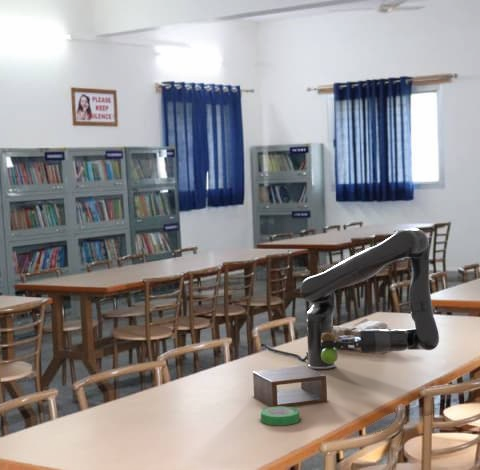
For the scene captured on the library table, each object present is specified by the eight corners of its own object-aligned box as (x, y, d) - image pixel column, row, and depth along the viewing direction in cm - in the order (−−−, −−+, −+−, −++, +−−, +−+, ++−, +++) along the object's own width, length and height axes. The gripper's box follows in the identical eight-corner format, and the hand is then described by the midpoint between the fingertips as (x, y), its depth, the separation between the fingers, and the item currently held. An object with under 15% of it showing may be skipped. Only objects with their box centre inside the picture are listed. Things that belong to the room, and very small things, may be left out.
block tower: (391, 351, 361) (324, 343, 380) (391, 330, 360) (324, 322, 379) (381, 355, 355) (314, 346, 374) (381, 333, 354) (314, 325, 373)
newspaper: (353, 342, 379) (353, 333, 378) (325, 340, 386) (325, 331, 386) (389, 327, 406) (389, 319, 406) (362, 326, 414) (362, 318, 414)
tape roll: (289, 427, 263) (289, 417, 263) (254, 423, 269) (254, 414, 268) (305, 417, 272) (305, 408, 272) (271, 413, 278) (270, 404, 278)
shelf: (254, 396, 299) (252, 371, 299) (305, 390, 304) (304, 365, 303) (272, 408, 284) (271, 381, 283) (327, 401, 288) (326, 375, 288)
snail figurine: (342, 364, 302) (340, 328, 301) (322, 365, 302) (320, 329, 301) (340, 361, 307) (338, 325, 306) (320, 362, 308) (319, 326, 307)
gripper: (370, 326, 310) (318, 328, 311) (378, 334, 296) (323, 336, 297) (371, 348, 310) (319, 350, 311) (379, 357, 297) (324, 359, 298)
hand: (321, 343), depth 304 cm, fingers closed on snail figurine
